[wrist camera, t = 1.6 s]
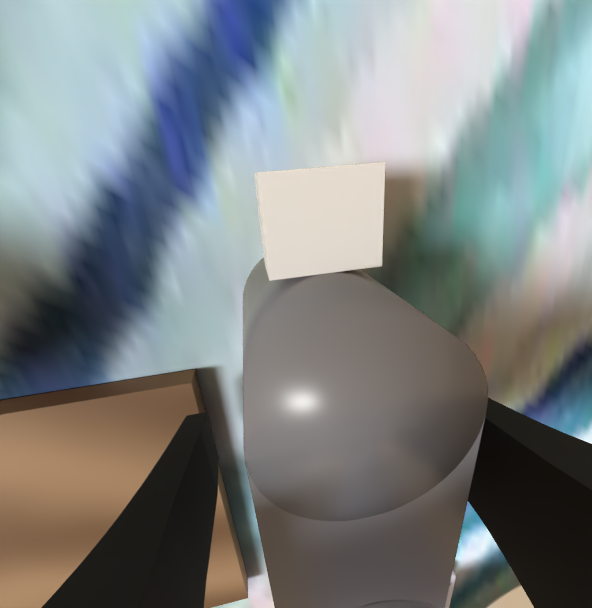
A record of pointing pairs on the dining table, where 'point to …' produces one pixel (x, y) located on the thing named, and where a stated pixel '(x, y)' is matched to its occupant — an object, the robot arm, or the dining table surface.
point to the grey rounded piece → (350, 405)
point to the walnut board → (92, 481)
